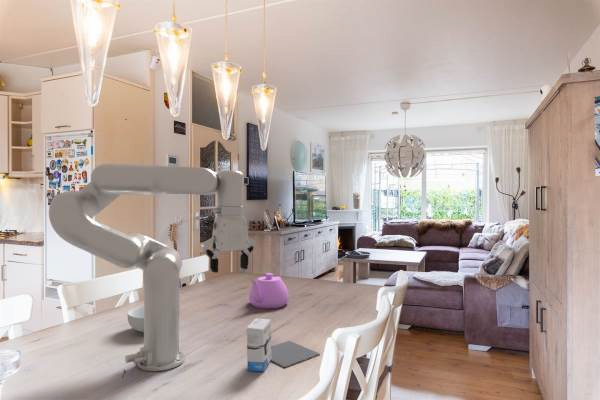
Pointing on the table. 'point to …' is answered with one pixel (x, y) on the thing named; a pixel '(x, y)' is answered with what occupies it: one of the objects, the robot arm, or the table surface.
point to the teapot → (268, 292)
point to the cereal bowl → (136, 318)
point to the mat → (290, 353)
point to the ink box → (259, 344)
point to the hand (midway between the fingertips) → (229, 270)
